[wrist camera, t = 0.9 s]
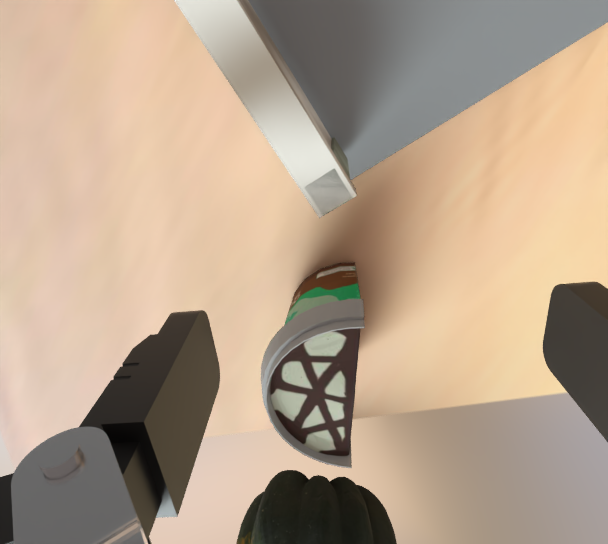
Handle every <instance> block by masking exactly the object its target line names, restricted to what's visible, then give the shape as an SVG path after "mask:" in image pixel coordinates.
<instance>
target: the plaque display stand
mask: <svg viewBox="0 0 608 544" xmlns="http://www.w3.org/2000/svg"><path fill="white" fill-rule="evenodd" d="M248 1H249V2H250V4H251V6H252V7H253V9H254V11H255V12H256V14H257V16H258V17H259V19H260V21H261V22H262V24H263V26H264V27H265V29H266V31H267V32H268V34H269V36H270V37H271V39H272V41H273V42H274V44H275V46H276V47H277V49H278V51H279V52H280V54H281V55H282V57H283V59H284V60H285V62H286V64H287V65H288V67H289V69H290V70H291V72H292V74H293V75H294V77H295V79H296V80H297V82H298V84H299V85H300V87H301V89H302V90H303V92H304V94H305V95H306V97H307V99H308V100H309V102H310V104H311V105H312V107H313V109H314V110H315V112H316V113H317V115H318V117H319V118H320V120H321V122H322V123H323V125H324V127H325V128H326V130H327V132H328V133H329V135H330V137H331V138H333V137H335V139H336V140H337V142H338V144H339V145H340V147H341V149H342V150H343V152H344V154H345V155H346V157H347V159H348V166H349V173H350V180H352V179H353V178H355V177H357V176H358V175H360V174H361V173H363V172H365V171H366V170H368V169H370V168H371V167H373V166H374V165H376V164H378V163H379V162H381V161H383V160H384V159H386V158H387V157H389V156H391V155H392V154H394V153H396V152H397V151H399V150H400V149H402V148H404V147H405V146H407V145H409V144H410V143H412V142H413V141H415V140H417V139H418V138H420V137H422V136H423V135H425V134H426V133H428V132H430V131H431V130H433V129H435V128H436V127H438V126H439V125H441V124H443V123H444V122H446V121H448V120H449V119H451V118H452V117H454V116H456V115H457V114H459V113H461V112H462V111H464V110H465V109H467V108H469V107H470V106H472V105H474V104H475V103H477V102H478V101H480V100H482V99H483V98H485V97H487V96H488V95H490V94H491V93H493V92H495V91H496V90H498V89H500V88H501V87H503V86H504V85H506V84H508V83H509V82H511V81H513V80H514V79H516V78H517V77H519V76H521V75H522V74H524V73H526V72H527V71H529V70H530V69H532V68H534V67H535V66H537V65H539V64H540V63H542V62H544V61H545V60H547V59H548V58H550V57H552V56H553V55H555V54H557V53H558V52H560V51H561V50H563V49H565V48H566V47H568V46H570V45H571V44H573V43H574V42H576V41H578V40H579V39H581V38H583V37H584V36H586V35H587V34H589V33H591V32H592V31H594V30H596V29H597V28H599V27H600V26H602V25H604V24H605V23H607V22H608V0H248Z"/></svg>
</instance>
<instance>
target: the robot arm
mask: <svg viewBox="0 0 608 544" xmlns="http://www.w3.org/2000/svg"><path fill="white" fill-rule="evenodd" d="M543 353H544V358H545V361H546V364H547V366H548V368H549V369H550V371H551V372H552V373H553V375H554V376H555V377H556V378H557V380H558V381H559V382H560V383H561V385H562V386H563V387H564V388H565V390H566V391H567V392H568V393H569V395H570V396H571V397H572V398H573V399H574V401H575V402H576V403H577V404H578V406H579V407H580V408H581V409H582V411H583V412H584V413H585V414H586V416H587V417H588V418H589V419H590V421H591V422H592V423H593V424H594V426H595V427H596V428H597V429H598V431H599V432H600V433H601V434H602V435H603V437H604V438H605V439H606V441H607V442H608V289H607V288H605V287H604V286H603V285H601V284H600V283H598V282H583V283H570V284H559V285H557V286H555V287H554V289H553V291H552V294H551V298H550V304H549V310H548V316H547V322H546V328H545V334H544V340H543ZM219 382H220V369H219V362H218V358H217V353H216V349H215V345H214V341H213V336H212V332H211V328H210V323H209V319H208V316H207V314H206V312H205V311H203V310H201V311H188V312H175V313H171V314H170V316H169V317H168V319H167V320H166V322H165V323H164V325H163V327H162V328H161V330H160V331H159V333H158V334H155V335H150V336H148V337H147V338H146V339H145V340H143V341H142V342H141V343H139V344H138V345H137V346H136V347H134V348H133V349H132V351H131V352H130V354H129V355H128V357H127V358H126V359H125V361H124V362H123V367H120V368H119V370H118V371H117V373H116V374H115V375H114V380H111V381H110V383H109V384H108V386H107V387H106V389H105V390H104V391H103V393H102V394H101V396H100V397H99V399H98V400H97V402H96V403H95V404H94V406H93V407H92V409H91V410H90V412H89V413H88V415H87V416H86V418H85V419H84V420H83V422H82V423H81V425H80V426H79V427H78V428H73V429H70V430H67V431H64V432H61V433H59V434H57V435H55V436H53V437H51V438H49V439H47V440H46V441H44V442H43V443H41V444H40V445H38V446H37V447H36V448H34V449H33V450H32V451H31V452H30V453H29V454H28V455H27V456H26V457H25V458H24V459H23V460H22V461H21V463H20V464H19V465H18V467H17V468H16V470H15V472H14V473H13V474H10V475H6V476H3V477H0V544H152V543H151V541H150V538H149V535H150V532H151V529H152V527H153V524H154V521H155V518H158V517H177V516H178V513H179V510H180V507H181V504H182V500H183V498H184V494H185V491H186V488H187V485H188V482H189V479H190V476H191V473H192V469H193V467H194V463H195V460H196V457H197V454H198V451H199V448H200V444H201V442H202V439H203V435H204V432H205V429H206V426H207V423H208V420H209V417H210V414H211V411H212V407H213V404H214V401H215V398H216V395H217V392H218V388H219Z"/></svg>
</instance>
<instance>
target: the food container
mask: <svg viewBox="0 0 608 544" xmlns="http://www.w3.org/2000/svg"><path fill="white" fill-rule="evenodd" d="M360 328H365V325H364V306H363V299H361V298H360V292H359V285H358V279H357V273H356V266H355V263H339V264H335V265H332V266H329V267H325V268H322V269H320V270H318V271H317V272H315V273H314V274H312V275H311V276H309V277H308V278H306V279H305V280H304V282H303V283H302V284H301V285H300V287H299V288H298V289H297V291H296V292H295V294H294V297H293V300H292V303H291V306H290V309H289V312H288V315H287V318H286V322H285V325H284V326H283V327H282V328H281V329H280V330H279V331H278V332H277V334H276V335H275V336H274V338H273V339H272V340H271V342H270V343H269V345H268V347H267V349H266V351H265V354H264V357H263V361H262V365H261V384H262V394H263V401H264V405H265V408H266V411H267V413H268V415H269V418H270V421H271V423H272V424H273V426H274V428H275V430H276V431H277V432H278V433H279V435H280V436H281V437H282V438H283V439H284V440H285V441H286V442H287V443H288V444H289V445H290V446H292V447H293V448H294V449H296V450H297V451H299V452H301V453H302V454H304V455H306V456H308V457H310V458H312V459H314V460H317V461H320V462H322V463H325V464H330V465H334V466H338V467H346V468H351V439H350V438H351V427H352V416H353V407H354V397H355V383H356V371H357V361H358V349H359V338H360Z"/></svg>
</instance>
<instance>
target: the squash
mask: <svg viewBox="0 0 608 544" xmlns="http://www.w3.org/2000/svg"><path fill="white" fill-rule="evenodd" d="M237 544H396V539H395V534H394V530H393V527H392V524H391V522H390V519H389V517H388V515H387V512H386V510H385V508H384V507H383V505H382V504H381V502H380V501H379V500H378V499H377V497H376V496H375V495H374V494H372V493H371V492H370V491H369V490H367V489H366V488H364V487H362V486H359V485H356V484H355V483H354V482H353V481H351V480H350V479H348V478H346V477H338V478H335V479H333V480H332V481H330V482H329V481H328V479H327V478H325V477H323V476H319V475H318V476H313V477H312V478H311V479H308V478H307V477H306V476H305V475H304V474H302V473H301V472H298V471H293V470H287V471H282V472H280V473H278V474H277V475H276V476H275V477H274V478H273V479H272V480H271V481H270V483H269V484H268V486H267V488H266V489H265V492H262V493H261V494H260V495H258V496H257V497H256V498H255V499H254V501H253V502H252V504H251V505H250V507H249V509H248V511H247V513H246V515H245V517H244V520H243V522H242V524H241V528H240V532H239V536H238V539H237Z"/></svg>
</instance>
